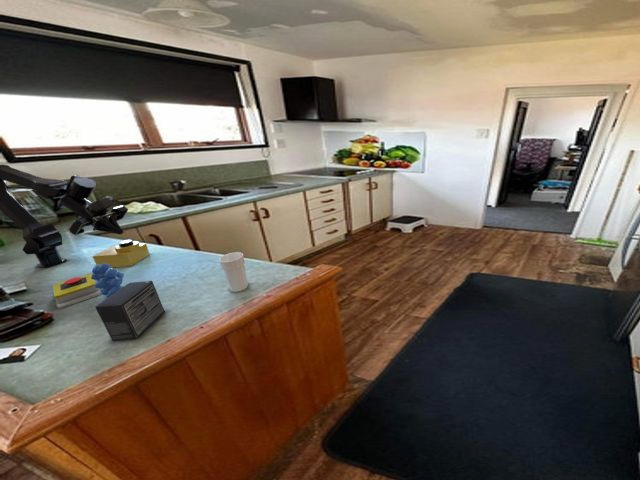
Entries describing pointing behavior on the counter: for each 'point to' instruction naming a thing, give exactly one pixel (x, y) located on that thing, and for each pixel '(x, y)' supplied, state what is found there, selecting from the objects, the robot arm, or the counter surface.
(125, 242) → the press button
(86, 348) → the counter surface
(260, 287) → the counter surface
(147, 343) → the counter surface
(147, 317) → the small box
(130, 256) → the yellow angular block
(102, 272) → the grapes
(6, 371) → the counter surface
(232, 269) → the cup
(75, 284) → the emergency button
